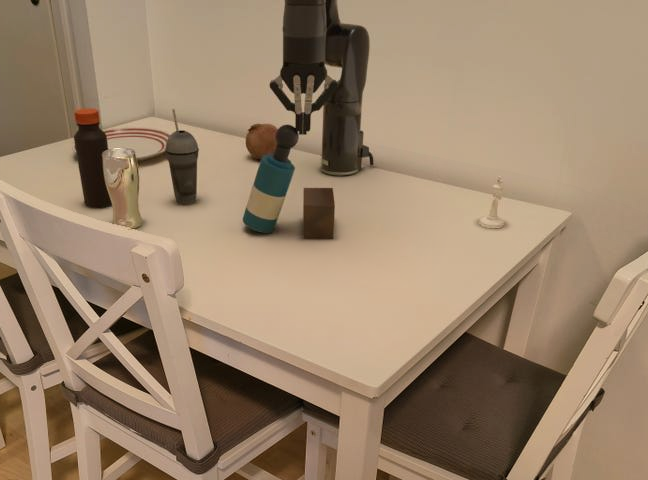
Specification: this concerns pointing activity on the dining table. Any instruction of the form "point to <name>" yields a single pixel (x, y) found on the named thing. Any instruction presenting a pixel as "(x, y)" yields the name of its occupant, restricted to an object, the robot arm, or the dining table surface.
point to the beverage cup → (183, 164)
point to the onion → (261, 140)
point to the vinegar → (91, 157)
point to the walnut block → (318, 213)
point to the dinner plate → (137, 141)
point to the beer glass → (122, 185)
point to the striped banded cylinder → (271, 183)
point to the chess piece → (494, 208)
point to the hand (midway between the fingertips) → (302, 133)
